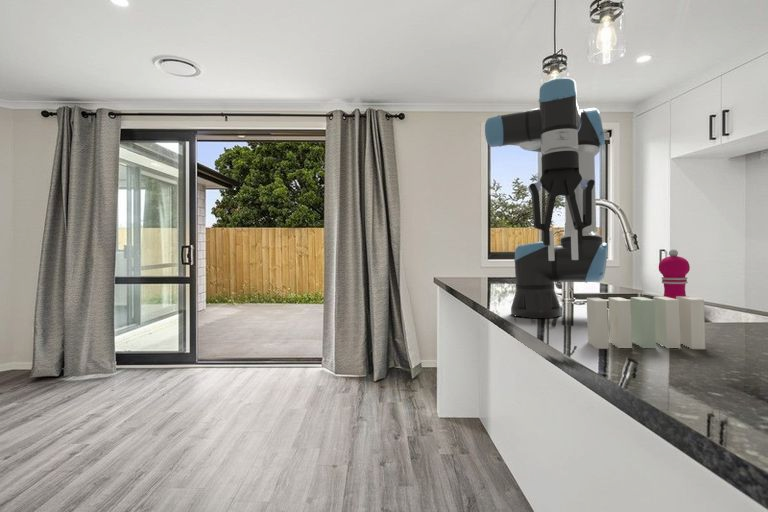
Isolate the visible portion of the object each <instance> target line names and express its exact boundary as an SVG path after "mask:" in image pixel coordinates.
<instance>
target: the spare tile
mask: <svg viewBox="0 0 768 512" xmlns="http://www.w3.org/2000/svg"><path fill="white" fill-rule="evenodd" d="M630 300H631V330H632V342H634V343H635V344H637V345H639V346H641V347H643V348H656V349H657V344H656V330H655V300H653V298H652V299H651V298H648V297H644V296H630ZM634 343H633V344H634ZM635 344H634V345H635ZM637 345H636V346H637ZM639 346H638V347H639ZM641 347H640V348H641ZM643 348H642V349H643Z"/></svg>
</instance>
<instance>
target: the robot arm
mask: <svg viewBox="0 0 768 512" xmlns="http://www.w3.org/2000/svg"><path fill="white" fill-rule="evenodd" d="M577 95H578V91H577V83H576V81H575V80H574V79H573V78H569V77H558V78H553V79H550V80H548V81H545V82H544V83H542V84H541V86H540V87H539V99H538V104H539V108H533V109H528V110H524V111H519V112H513V113H508V114H498V115H496V116H492V117H489V118H487V120H486V121H485V124H484V134H485V140H486V144H487V145H488V146H489V147H490V148H495V147H497V148H498V147H503V146H504V147H505V146H514V147H515V146H517V147H520V148H521V149H522V150H524V151H529V152H535V153H537V152H538V153H541V154H543V155H541V177H540V178H539V181H536V182H534V183H532V182H531V184H529V185H528V187H527V189H528V191H529V193H530V195H531V202H532V203H531V206H532V222H533V228H534V229H535V230H540V231H541V232H542V241H537V242H531V243H527V244H526V243H525V244H520V245H518V246H517V247H516V248H515V250H514V270H515V271H514V272H515V273H514V274H515V275H514V276H515V293H514V296H513V300H512V303H511V307H510V314H513V315H516V316H522V317H521V318H524V317H529V318H528V319H551V318H558V316H559V317H561V316H562V306H561V304H560V302H559V300H558V296H557V294H556V290H555V283H596V282H601V281H602V280H603V279H604V278H605V273H606V268H607V262H608V261H607V259H608V250H609V247H608V246H609V245H608V243H607V242H603V237H602V235H600V234H599V233H598V232H597V208H596V207H597V206H596V204H597V200H596V197H597V196H596V165H595V161H596V160H595V157H596V156H597V155H598V154H599V153H600V151H601V147H602V146H604V145H606V144H605V143H606V142H605V134H604V129H603V122H602V118H601V113H600V111H599V109H598V108H595V107H592V108H581V109H579V105H578V97H577ZM541 187H542V188H543V189H544V190H545V191H546V193H547V197H546V198H547V199H546V205H545V212H544V216H543V222H542V219H541V218H542V217H541V203H540V202H541V201H540V193H539V192H540V191H541ZM559 196H562V197H564V204H565V205H564V206H565V207H564V208H565V211H564V212H565V215H564V216H565V233H564V235H562V236H561V237H560V244H555V235H554V230H550V229H551V224H552V219H553V214H554V207H555V203H556V199H557V197H559ZM513 315H512V316H513ZM516 316H515V317H516Z"/></svg>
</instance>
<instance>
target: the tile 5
mask: <svg viewBox="0 0 768 512" xmlns="http://www.w3.org/2000/svg"><path fill="white" fill-rule="evenodd" d="M676 299H678V300H679V318H680V343H681V344H683V345H682V346H684V345H685V346H684V347H686V346H687V347H686V348H688V347H689V349H691V350H706V332H705V331H706V330H705V329H706V327H705V326H706V325H705V323H706V322H705V300H704V298H703V299H702V298H700V297H693V296H689V295H686V296H676ZM681 344H680V345H681Z"/></svg>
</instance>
